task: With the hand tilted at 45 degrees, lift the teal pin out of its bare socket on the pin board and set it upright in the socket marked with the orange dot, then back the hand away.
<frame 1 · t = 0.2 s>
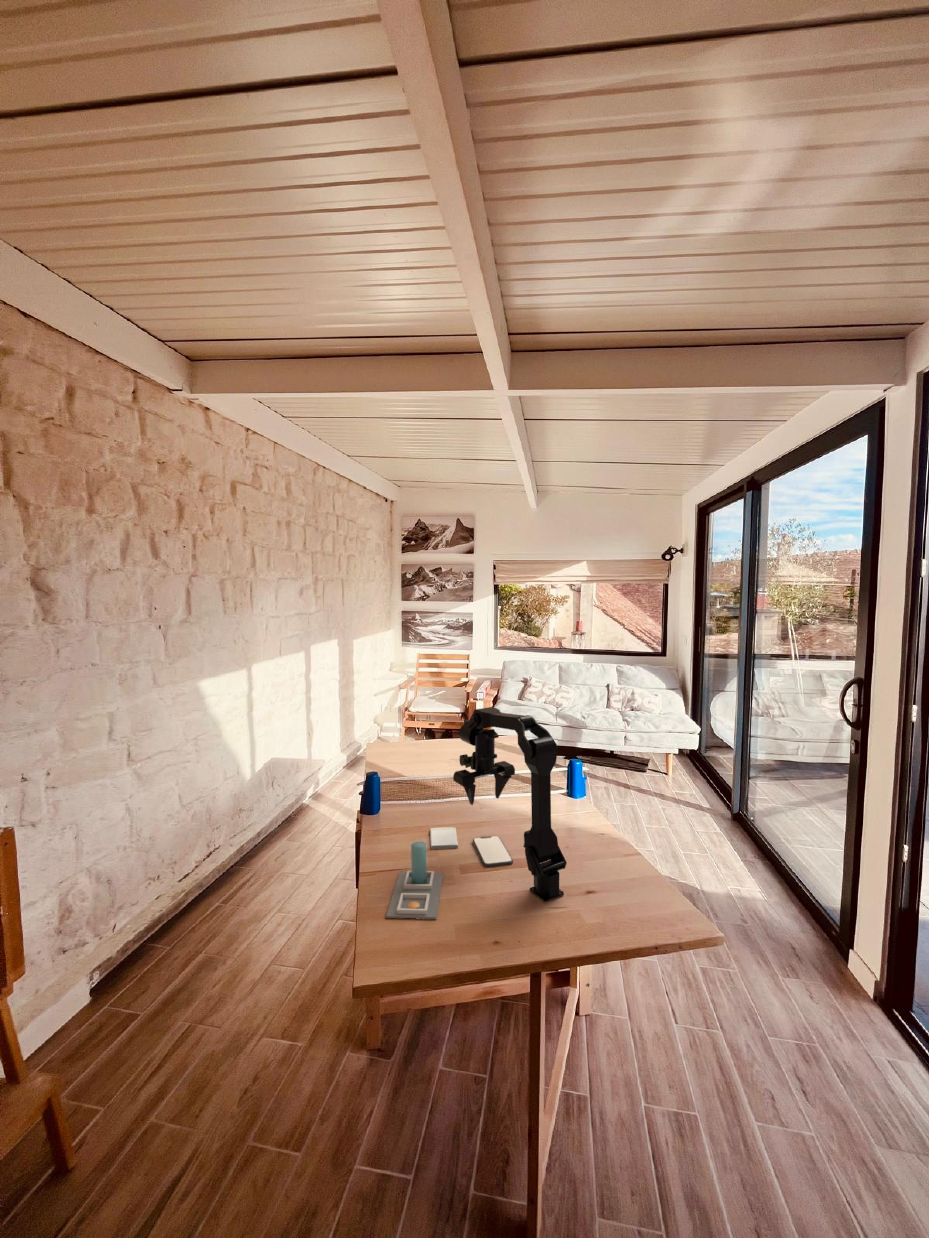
hand: (484, 801, 166), 15 cm above the table, tool pointing down, fingers open, 9 cm apart
white smartphone: (492, 854, 165), on the table
hard drive: (443, 841, 174), on the table
pin board: (416, 895, 143), on the table
pin: (419, 881, 148), point 1 cm above the table, touching pin board
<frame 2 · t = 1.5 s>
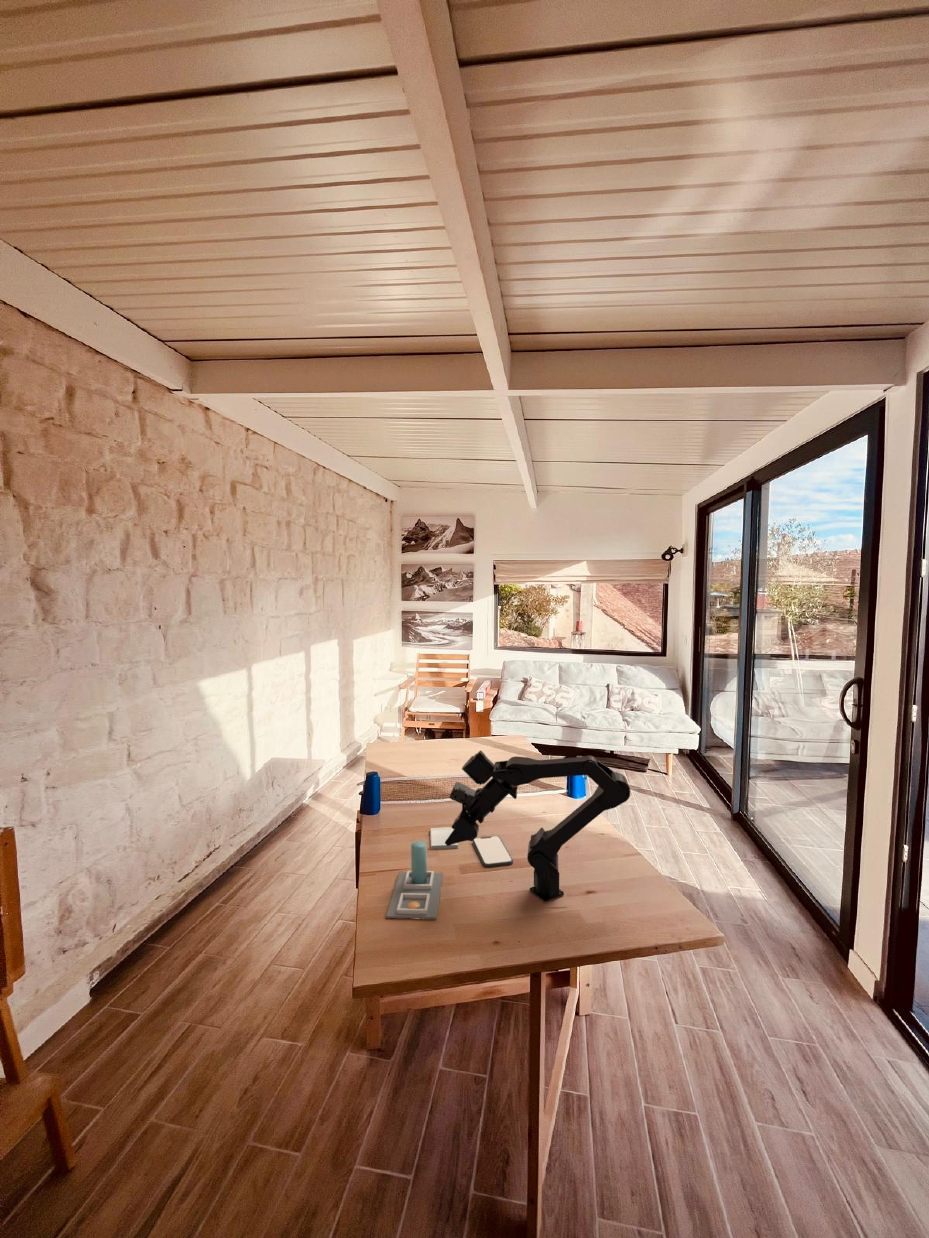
hand: (449, 835, 147), 13 cm above the table, tool tilted 45°, fingers open, 9 cm apart
nothing on the table moved.
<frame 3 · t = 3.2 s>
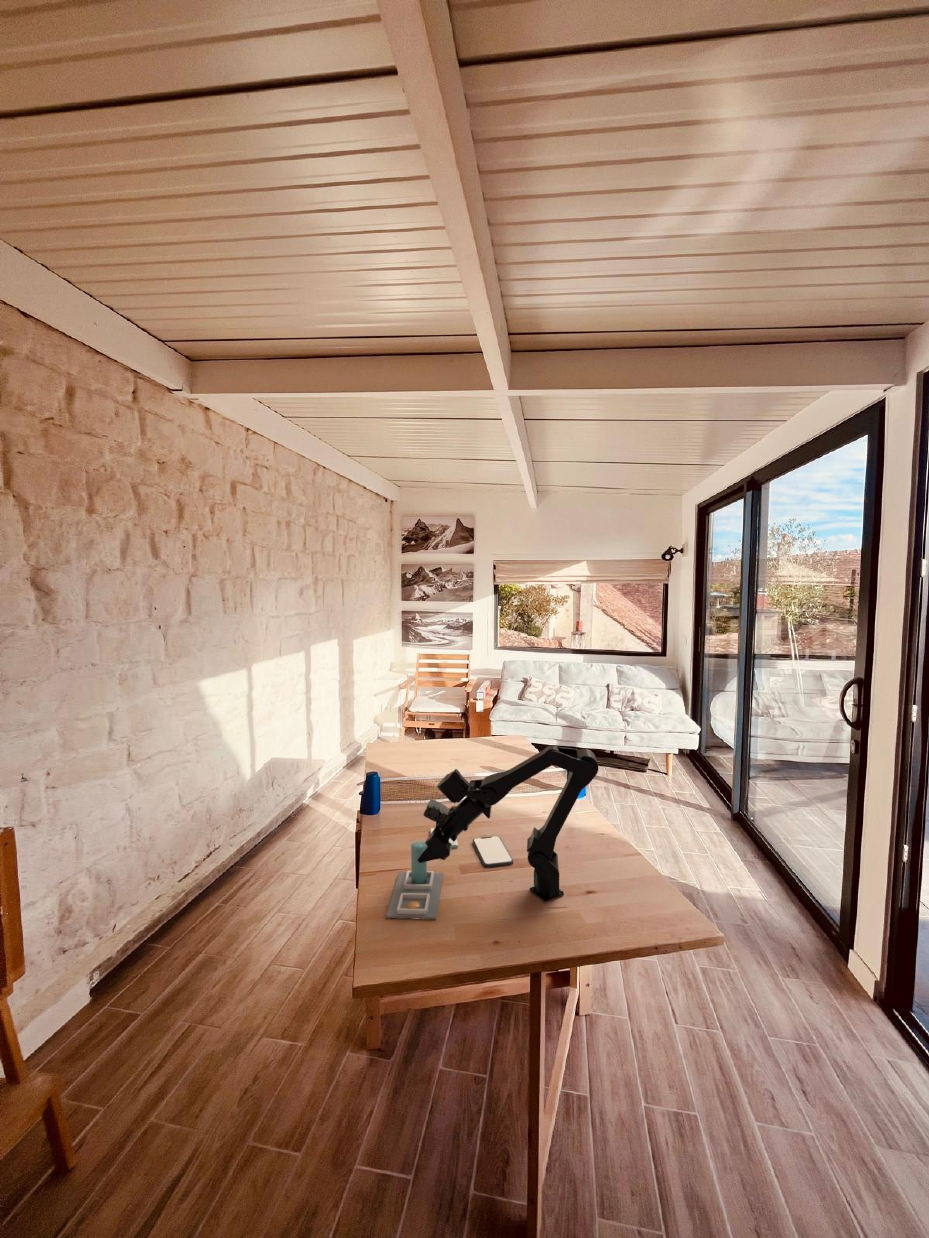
hand: (422, 852, 147), 9 cm above the table, tool tilted 45°, fingers open, 9 cm apart
nothing on the table moved.
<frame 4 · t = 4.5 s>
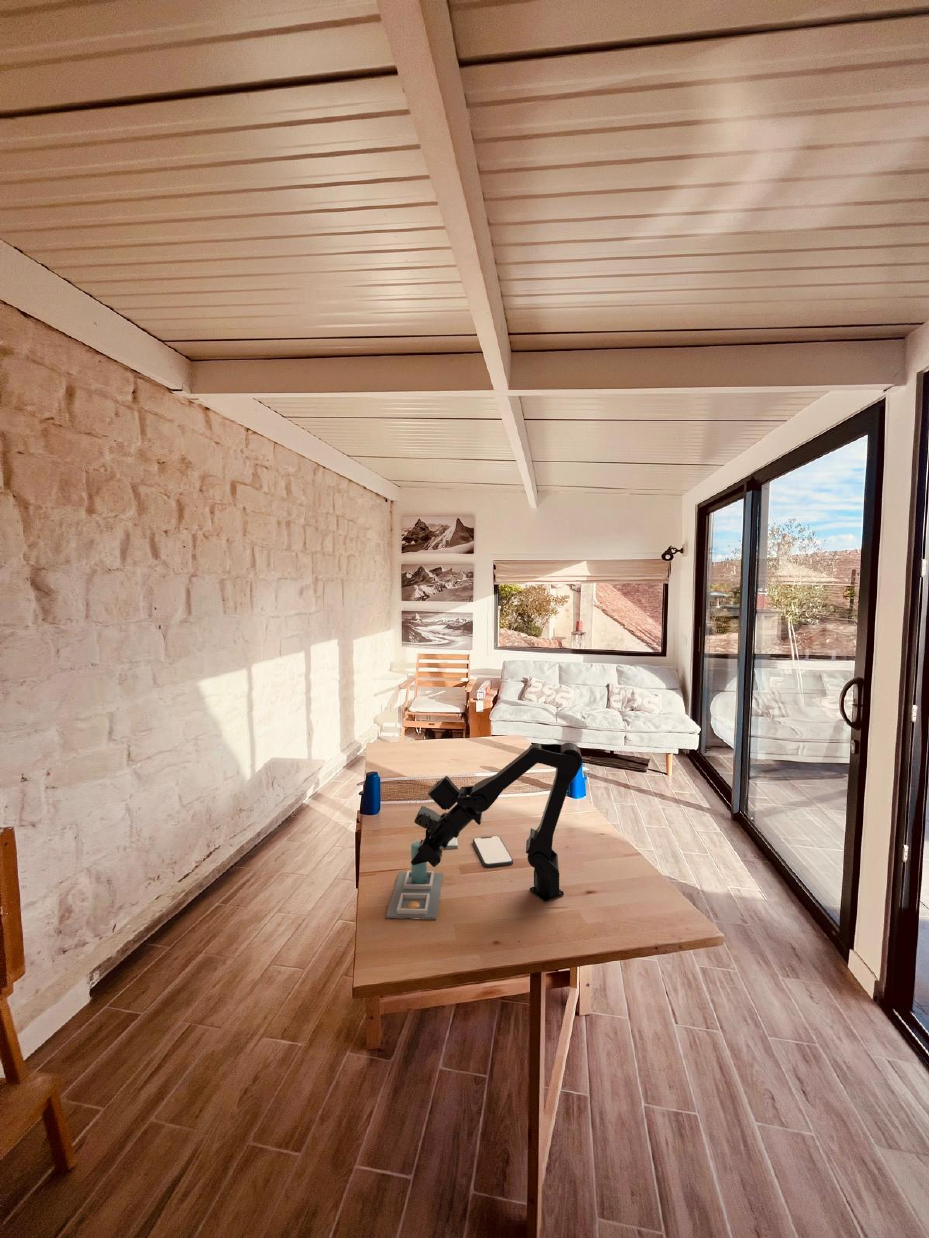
hand: (413, 859, 148), 7 cm above the table, tool tilted 45°, fingers closed on pin, 4 cm apart
pin: (419, 881, 148), point 1 cm above the table, touching gripper, pin board
everything else where it was.
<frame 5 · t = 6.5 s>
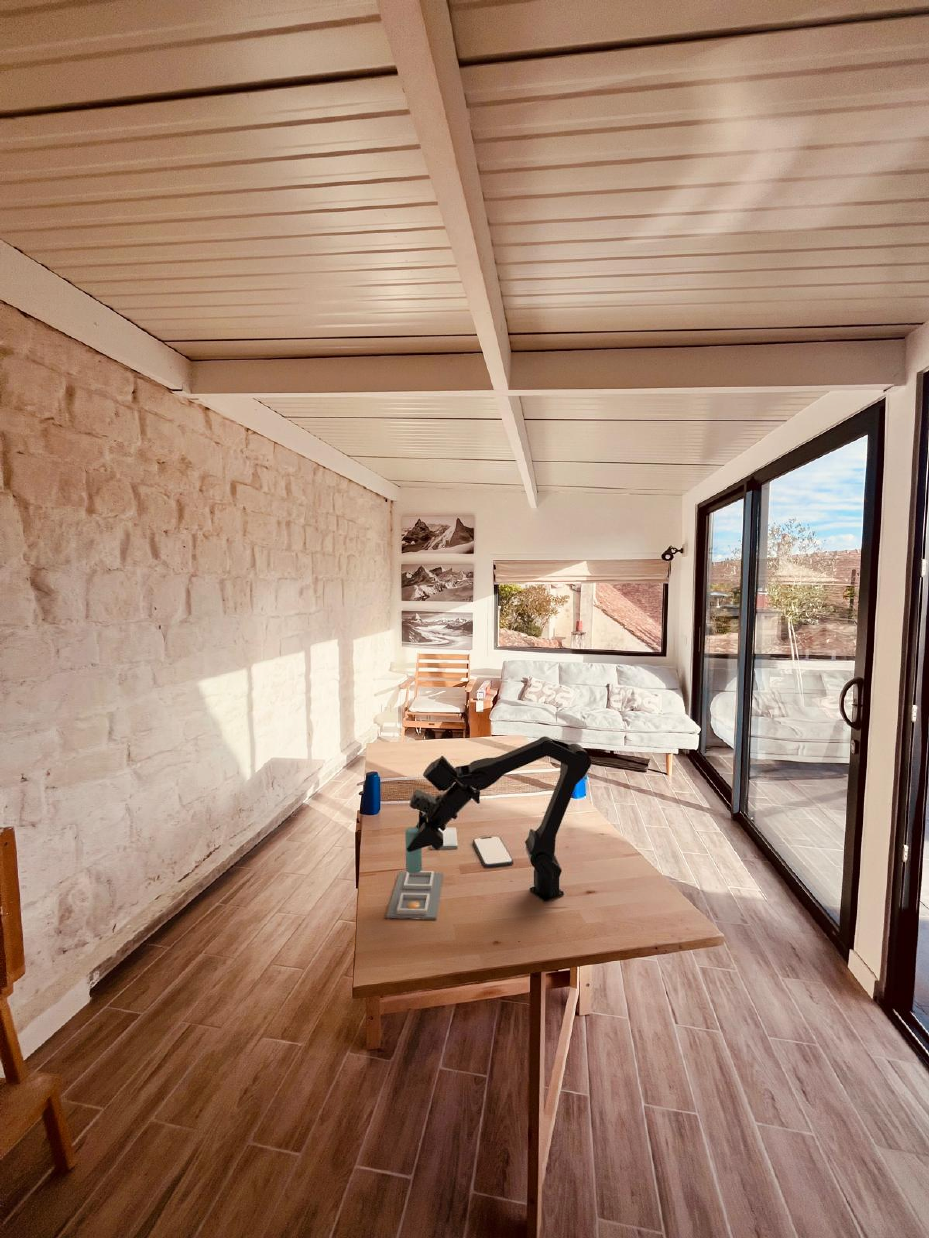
hand: (408, 846, 140), 14 cm above the table, tool tilted 45°, fingers closed on pin, 4 cm apart
pin: (413, 869, 141), point 8 cm above the table, touching gripper
everything else where it was.
when the fingers open (8 cm above the table, at t = 8.6 s): pin drops 1 cm, resting on pin board.
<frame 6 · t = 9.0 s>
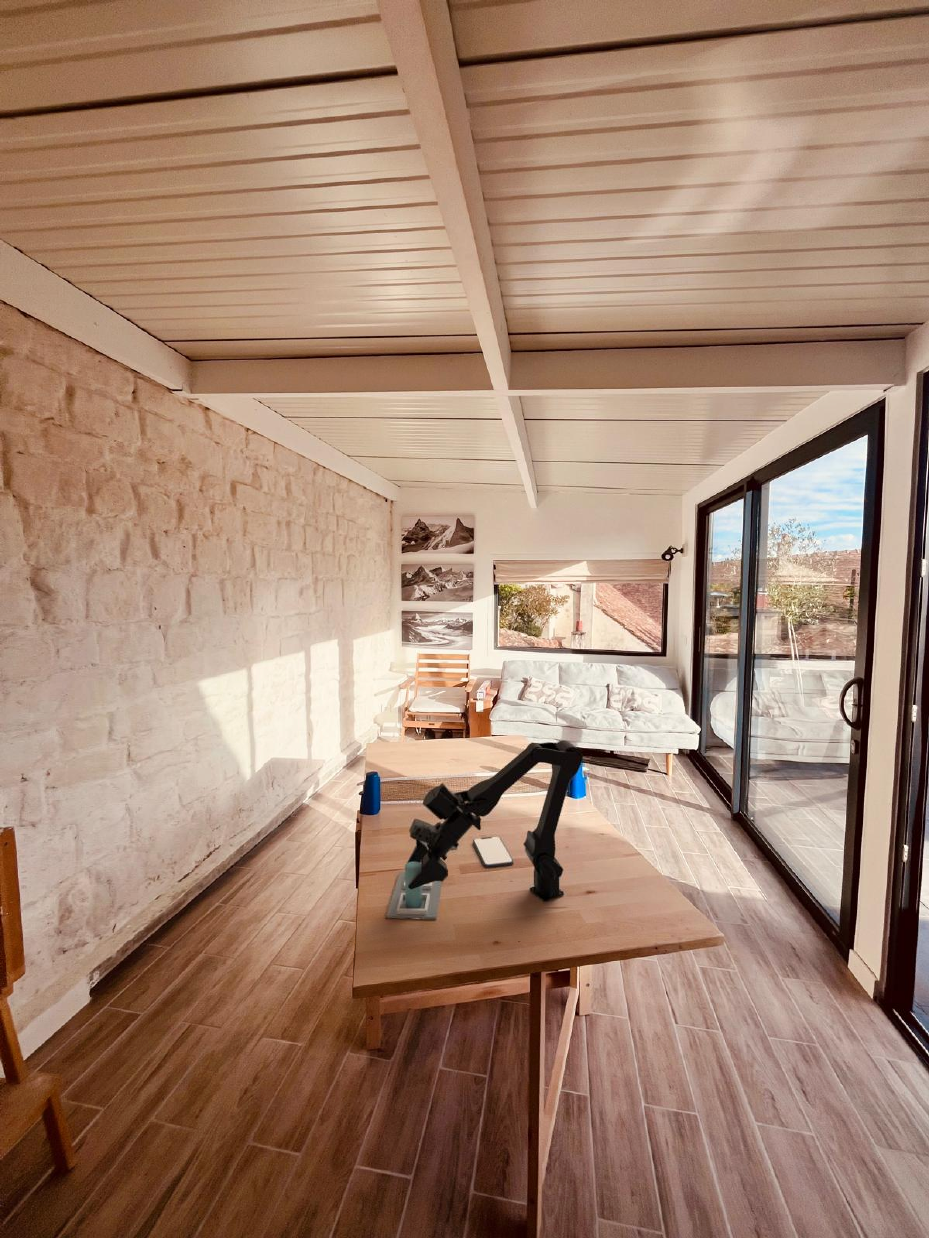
hand: (407, 877, 136), 8 cm above the table, tool tilted 45°, fingers open, 9 cm apart
pin: (413, 904, 137), point 1 cm above the table, touching pin board
everything else where it was.
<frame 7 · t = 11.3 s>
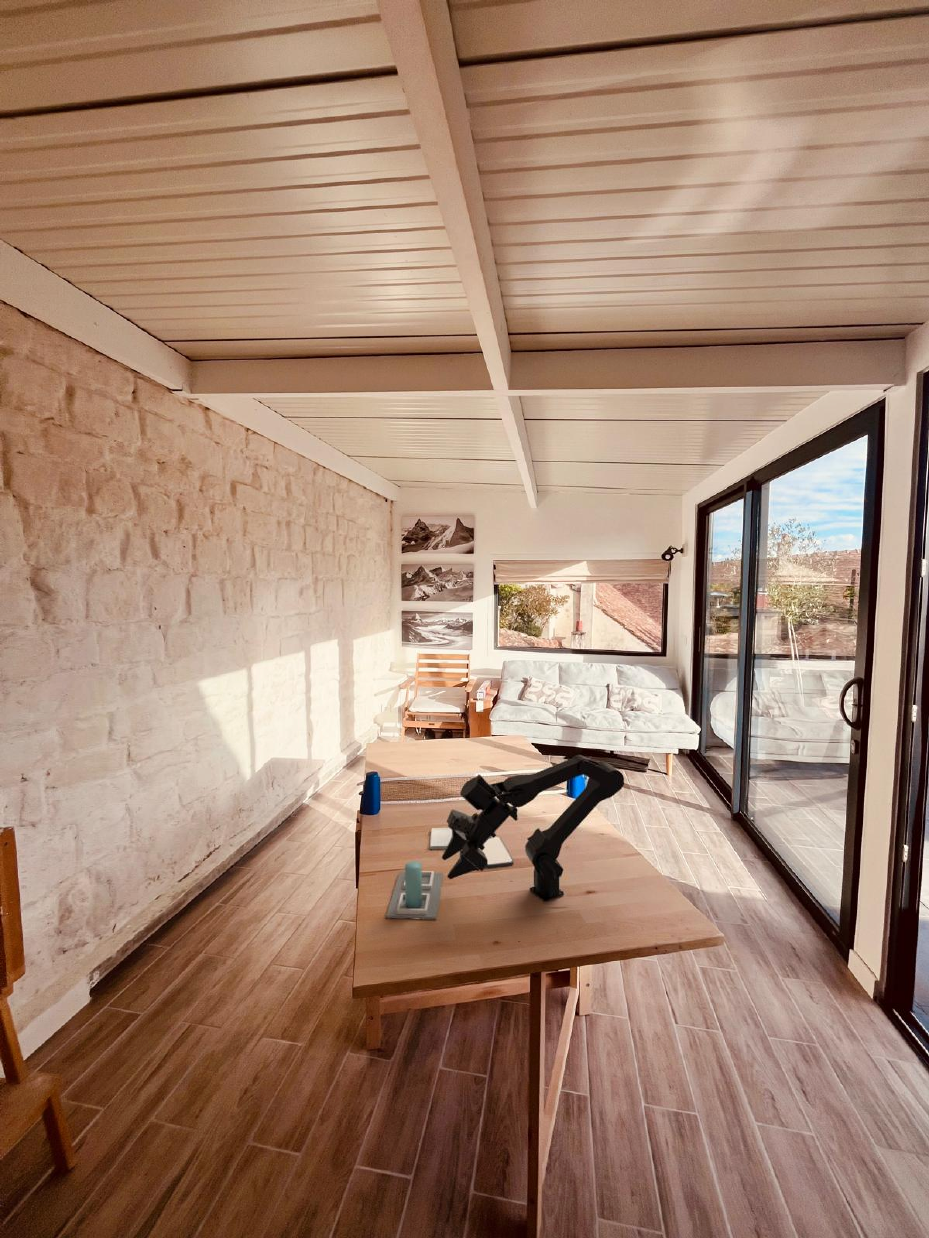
hand: (445, 867, 138), 9 cm above the table, tool tilted 45°, fingers open, 9 cm apart
nothing on the table moved.
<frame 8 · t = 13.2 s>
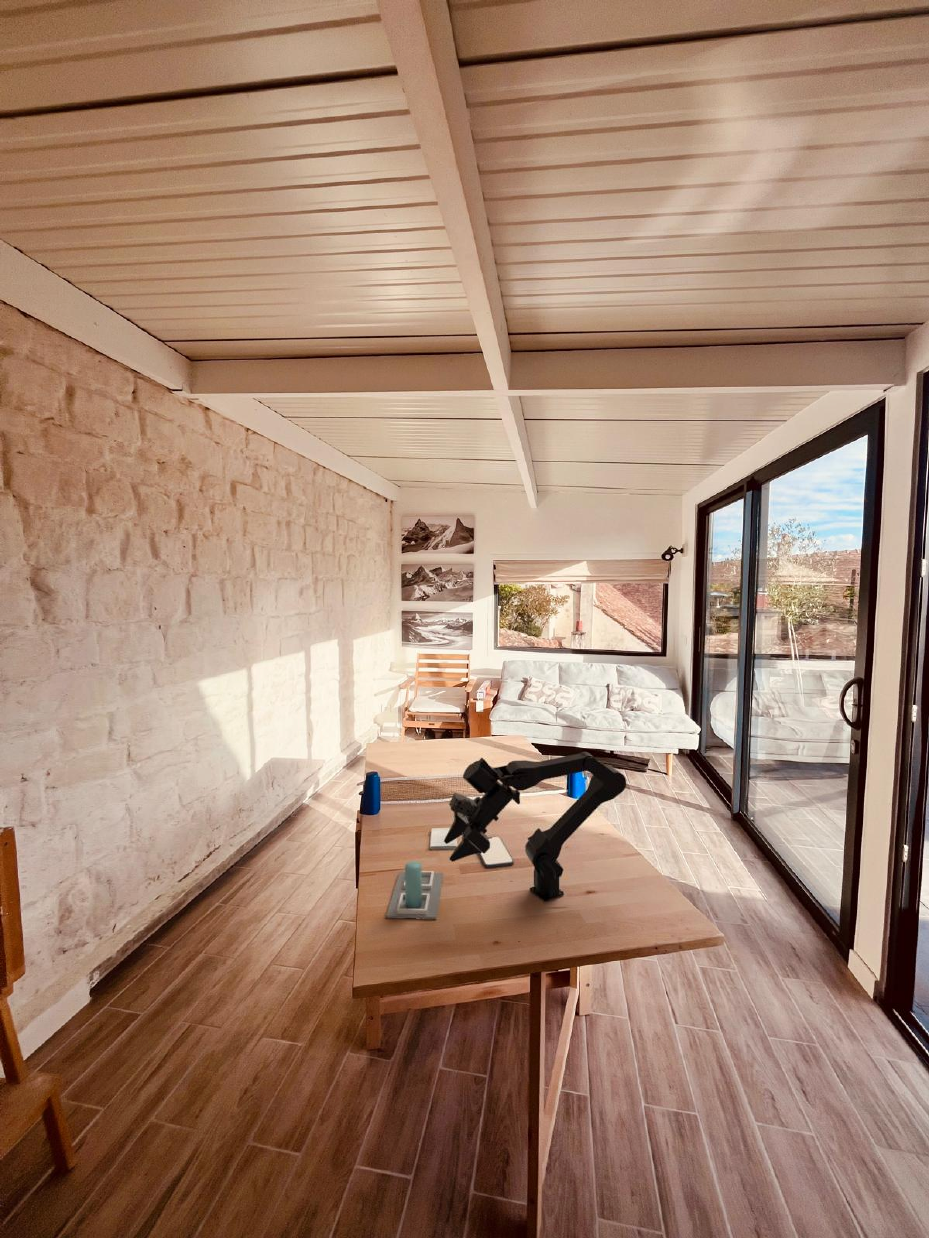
hand: (447, 851, 138), 14 cm above the table, tool tilted 45°, fingers open, 9 cm apart
nothing on the table moved.
at the end: pin 0.0 cm from the target spot, point 0.7 cm above the table; pin tilted 0°; the gripper is holding nothing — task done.
